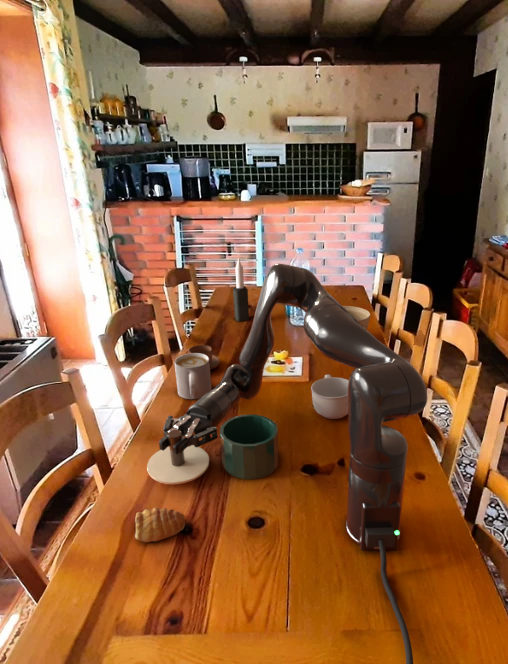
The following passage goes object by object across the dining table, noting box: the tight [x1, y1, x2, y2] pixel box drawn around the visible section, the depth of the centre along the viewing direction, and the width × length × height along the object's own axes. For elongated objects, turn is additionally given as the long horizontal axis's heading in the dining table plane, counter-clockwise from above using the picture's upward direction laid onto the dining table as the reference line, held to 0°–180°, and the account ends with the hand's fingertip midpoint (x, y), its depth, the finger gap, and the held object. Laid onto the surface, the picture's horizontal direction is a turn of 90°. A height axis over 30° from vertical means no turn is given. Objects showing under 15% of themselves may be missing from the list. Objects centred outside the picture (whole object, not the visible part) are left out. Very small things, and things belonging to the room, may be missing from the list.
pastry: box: [134, 507, 186, 543], centre depth 91 cm, size 9×7×4 cm
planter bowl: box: [342, 305, 371, 331], centre depth 167 cm, size 16×16×11 cm
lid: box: [146, 430, 210, 485], centre depth 106 cm, size 14×14×9 cm
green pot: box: [219, 413, 279, 480], centre depth 108 cm, size 13×13×8 cm
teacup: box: [310, 374, 349, 420], centre depth 126 cm, size 14×11×8 cm
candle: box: [232, 258, 250, 322], centre depth 192 cm, size 5×5×25 cm
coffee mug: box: [174, 352, 213, 400], centre depth 139 cm, size 13×10×10 cm
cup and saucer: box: [185, 344, 221, 371], centre depth 156 cm, size 12×12×6 cm
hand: (167, 448), depth 103 cm, fingers closed on lid, 3 cm apart
